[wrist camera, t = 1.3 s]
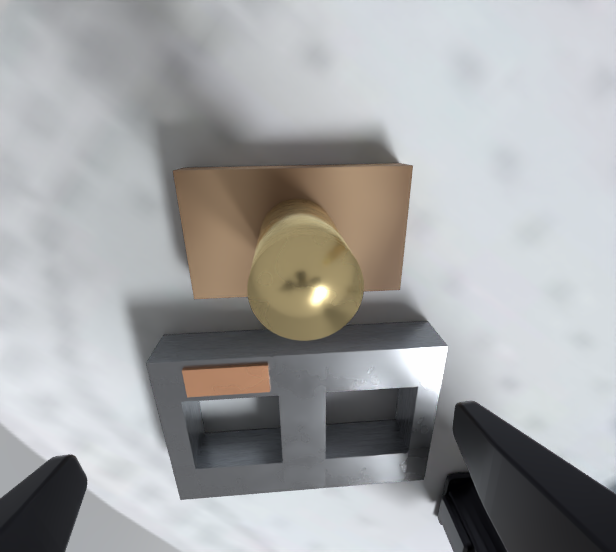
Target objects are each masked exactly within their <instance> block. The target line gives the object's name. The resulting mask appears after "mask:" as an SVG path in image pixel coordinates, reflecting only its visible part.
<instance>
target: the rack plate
mask: <svg viewBox="0 0 616 552" xmlns="http://www.w3.org/2000/svg"><path fill="white" fill-rule="evenodd" d="M447 349H448V346H447V344H446V343H445V342H444V341H443V339H442V338H441V337H440V336H439V335H438V333H437V332H436V331H435V330H434V328H433V327H432V326H431V325H430V323H429V322H428V321H423V322H404V323H384V324H365V325H346V326H344V327H343V328H341V329H340V330H338V331H337V332H335V333H333V334H331V335H329V336H326V337H324V338H320V339H316V340H308V341H299V340H292V339H288V338H284V337H281V336H279V335H277V334H275V333H273V332H272V331H270V330H249V331H230V332H210V333H191V334H172V335H163V337H162V338H161V340H160V341H159V343H158V345H157V346H156V348H155V350H154V351H153V353H152V355H151V356H150V358H149V359H148V361H147V363H146V365H147V369H148V373H149V377H150V381H151V385H152V389H153V393H154V397H155V401H156V405H157V409H158V413H159V417H160V421H161V425H162V429H163V433H164V437H165V440H166V444H167V448H168V452H169V456H170V460H171V464H172V468H173V472H174V476H175V480H176V484H177V488H178V492H179V496H180V500H184V499H196V498H208V497H221V496H233V495H245V494H257V493H269V492H281V491H293V490H305V489H317V488H329V487H341V486H353V485H365V484H377V483H390V482H402V481H414V480H424V477H425V471H426V466H427V460H428V454H429V449H430V443H431V438H432V432H433V427H434V421H435V416H436V410H437V404H438V399H439V393H440V388H441V382H442V377H443V371H444V366H445V360H446V354H447ZM388 388H399V392H398V401H397V409H396V418H395V420H384V421H370V422H356V423H342V424H328V425H326V392H342V391H357V390H373V389H388ZM264 396H279V409H280V425H281V428H271V429H257V430H243V431H229V432H215V433H205V430H204V425H203V420H202V414H201V409H200V403H199V401H202V400H218V399H233V398H249V397H264Z"/></svg>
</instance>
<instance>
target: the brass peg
mask: <svg viewBox="0 0 616 552" xmlns="http://www.w3.org/2000/svg"><path fill="white" fill-rule="evenodd" d="M363 292H364V280H363V274H362V271H361V268H360V266H359V264H358V262H357V260H356V259H355V257H354V255H353V254H352V252H351V250H350V249H349V247H348V246H347V244H346V242H345V241H344V239H343V238H342V236H341V234H340V233H339V231H338V230H337V228H336V226H335V225H334V223H333V222H332V220H331V218H330V217H329V215H328V214H327V212H326V211H325V210H324V209H323V208H322V207H320V206H319V205H318V204H316V203H314V202H312V201H309V200H305V199H290V200H286V201H283V202H281V203H279V204H277V205H276V206H274V207H273V208H272V209H271V210H270V211H269V212H268V213H267V215H266V216H265V218H264V220H263V222H262V226H261V229H260V234H259V238H258V242H257V246H256V250H255V254H254V258H253V262H252V266H251V270H250V275H249V279H248V286H247V293H248V300H249V303H250V306H251V309H252V311H253V313H254V314H255V316H256V317H257V319H258V320H259V321H260V322H261V323H262V325H264V326H265V327H266V328H267V329H268V330H270V331H272V332H273V333H275V334H277V335H279V336H281V337H284V338H288V339H292V340H299V341H308V340H316V339H320V338H324V337H326V336H329V335H331V334H333V333H335V332H337V331H338V330H340V329H341V328H343V327H344V326H345V325H346V324H347V323H348V322H349V321H350V320H351V319H352V318H353V316H354V315H355V314H356V312H357V310H358V309H359V306H360V304H361V301H362V298H363Z"/></svg>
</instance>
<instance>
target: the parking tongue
mask: <svg viewBox="0 0 616 552" xmlns="http://www.w3.org/2000/svg"><path fill="white" fill-rule="evenodd" d="M412 169H413V166H412V165H407V164H401V163H385V164H336V165H288V166H240V167H191V168H181V169H177V170H174V171H173V176H174V182H175V188H176V194H177V199H178V205H179V211H180V217H181V223H182V229H183V235H184V241H185V247H186V253H187V259H188V265H189V271H190V277H191V283H192V289H193V295H194V299H208V298H230V297H248V293H247V286H248V279H249V275H250V270H251V266H252V262H253V258H254V254H255V250H256V246H257V242H258V238H259V234H260V229H261V226H262V222H263V220H264V218H265V216H266V215H267V213H268V212H269V211H270V210H271V209H272V208H273V207H274V206H276V205H277V204H279V203H281V202H283V201H286V200H290V199H305V200H309V201H312V202H314V203H316V204H318V205H319V206H320V207H322V208H323V209H324V210H325V211H326V212H327V214H328V215H329V217H330V218H331V220H332V222H333V223H334V225H335V226H336V228H337V230H338V231H339V233H340V234H341V236H342V238H343V239H344V241H345V242H346V244H347V246H348V247H349V249H350V250H351V252H352V254H353V255H354V257H355V259H356V260H357V262H358V264H359V266H360V268H361V271H362V274H363V280H364V291H385V290H400V285H401V275H402V266H403V256H404V246H405V237H406V227H407V217H408V208H409V198H410V189H411V179H412Z"/></svg>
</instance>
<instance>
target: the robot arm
mask: <svg viewBox="0 0 616 552" xmlns="http://www.w3.org/2000/svg"><path fill="white" fill-rule="evenodd" d="M453 433H454V437H455V439H456V442H457V444H458V447H459V449H460V451H461V454H462V456H463V459H464V461H465V463H466V466H467V468H468V471H469V473H462V474H452V475H449V476H448V477H447V479H446V483H445V488H444V492H443V496H442V499H441V504H440V508H439V513H438V520H439V523H440V524H441V525H443V527H444V530H445V532H446V535H447V537H448V539H449V542H450V544H451V547H452V549H453V551H454V552H616V494H615V493H614V492H612V491H611V490H609V489H608V488H606V487H605V486H603V485H602V484H600V483H599V482H597V481H596V480H594V479H592V478H591V477H589V476H588V475H586V474H585V473H583V472H582V471H580V470H579V469H577V468H576V467H574V466H573V465H571V464H570V463H568V462H567V461H565V460H564V459H562V458H560V457H559V456H557V455H556V454H554V453H553V452H551V451H550V450H548V449H547V448H545V447H544V446H542V445H541V444H539V443H538V442H536V441H535V440H533V439H532V438H530V437H529V436H527V435H525V434H524V433H522V432H521V431H519V430H518V429H516V428H515V427H513V426H512V425H510V424H509V423H507V422H506V421H504V420H503V419H501V418H500V417H498V416H497V415H495V414H494V413H492V412H490V411H489V410H487V409H486V408H484V407H483V406H481V405H480V404H478V403H477V402H474V401H466V402H459V403H457V404H456V405H455V411H454V420H453ZM86 488H87V477H86V475H85V473H84V471H83V469H82V467H81V465H80V463H79V462H78V460H77V458H76V457H75V456H74V455H70V454H69V455H62V456H56V457H53V458H51V459H50V460H48V461H47V462H46V463H44V464H43V465H42V466H41V467H40V468H38V469H37V470H36V471H35V472H33V473H32V474H31V475H29V476H28V477H27V478H26V479H24V480H23V481H22V482H21V483H19V484H18V485H17V486H16V487H14V488H13V489H12V490H11V491H9V492H8V493H7V494H5V495H4V496H3V497H2V498H0V552H65V550H66V548H67V545H68V542H69V539H70V536H71V533H72V530H73V527H74V524H75V521H76V518H77V515H78V512H79V509H80V506H81V503H82V500H83V497H84V494H85V491H86Z"/></svg>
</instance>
